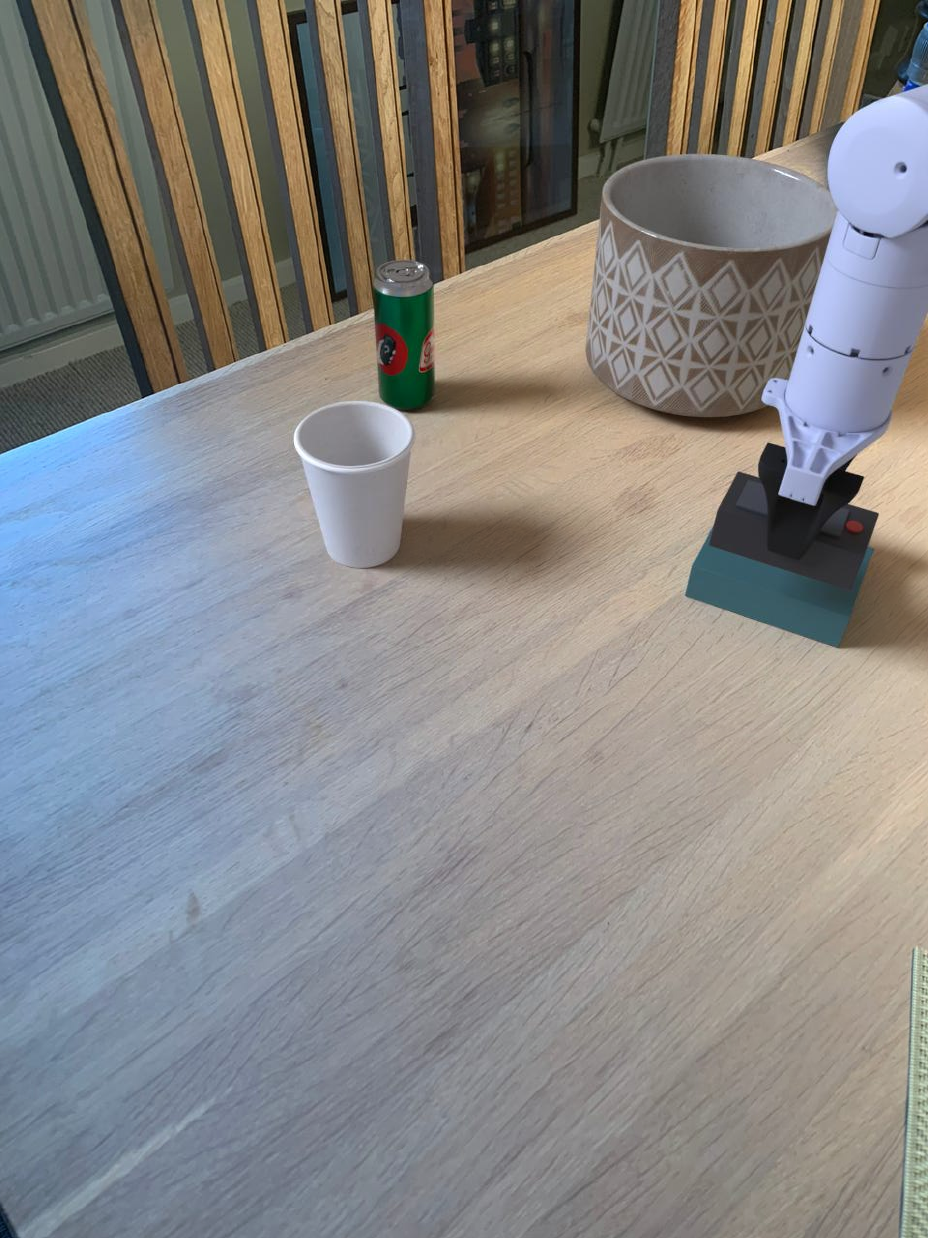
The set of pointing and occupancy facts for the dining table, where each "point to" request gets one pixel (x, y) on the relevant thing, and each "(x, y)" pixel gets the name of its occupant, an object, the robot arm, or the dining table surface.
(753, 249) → the planter
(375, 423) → the dixie cup
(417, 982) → the dining table surface
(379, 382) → the soda can
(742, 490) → the remote
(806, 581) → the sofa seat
